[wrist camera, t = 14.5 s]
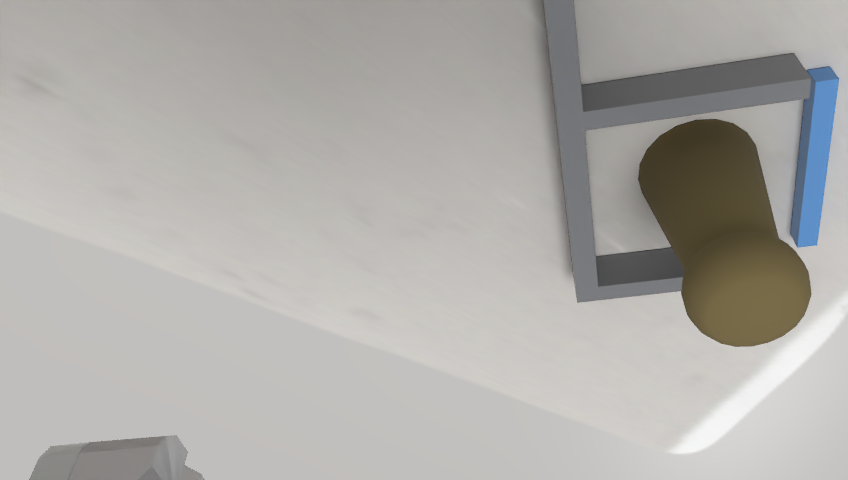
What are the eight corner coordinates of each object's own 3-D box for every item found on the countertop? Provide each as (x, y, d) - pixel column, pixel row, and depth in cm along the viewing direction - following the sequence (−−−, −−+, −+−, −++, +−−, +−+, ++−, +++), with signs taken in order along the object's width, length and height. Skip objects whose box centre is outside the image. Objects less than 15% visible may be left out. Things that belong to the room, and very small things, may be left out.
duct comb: (573, 272, 47) (577, 302, 45) (526, -150, 33) (530, -133, 31) (808, 245, 45) (823, 275, 43) (864, -217, 31) (891, -203, 29)
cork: (757, 206, 44) (828, 358, 35) (642, 223, 45) (683, 375, 36) (759, 108, 40) (838, 252, 31) (634, 130, 41) (677, 275, 32)
